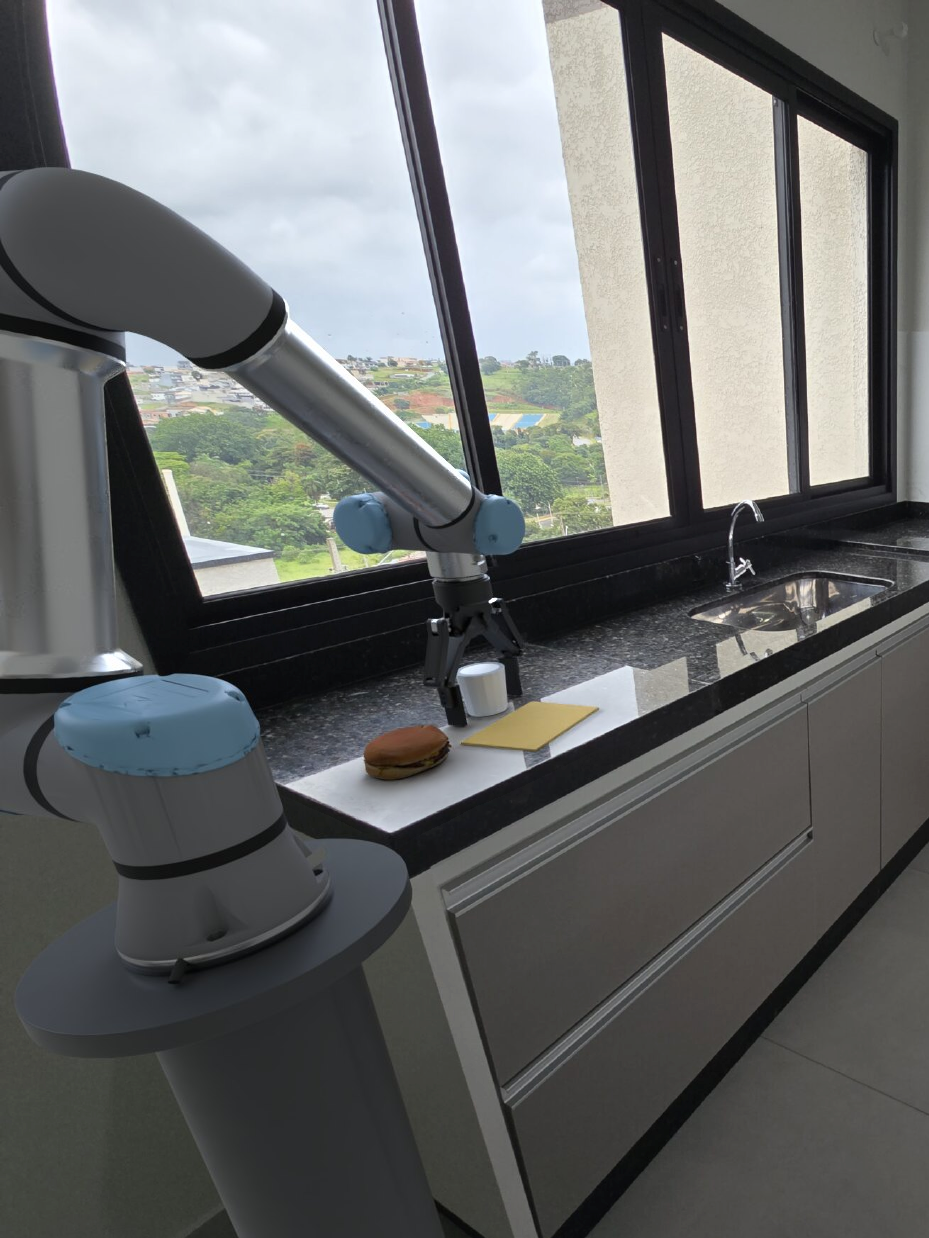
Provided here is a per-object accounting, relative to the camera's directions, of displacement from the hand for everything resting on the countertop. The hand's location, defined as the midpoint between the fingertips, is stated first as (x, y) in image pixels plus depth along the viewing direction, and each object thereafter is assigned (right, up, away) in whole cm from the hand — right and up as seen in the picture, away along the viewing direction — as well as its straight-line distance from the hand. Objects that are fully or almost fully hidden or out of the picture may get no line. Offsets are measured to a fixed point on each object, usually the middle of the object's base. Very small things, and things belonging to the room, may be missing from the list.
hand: (487, 709), depth 119 cm
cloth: (+10, -2, -5) cm, 12 cm away
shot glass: (0, 0, 0) cm, 0 cm away
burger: (0, -7, -18) cm, 19 cm away
